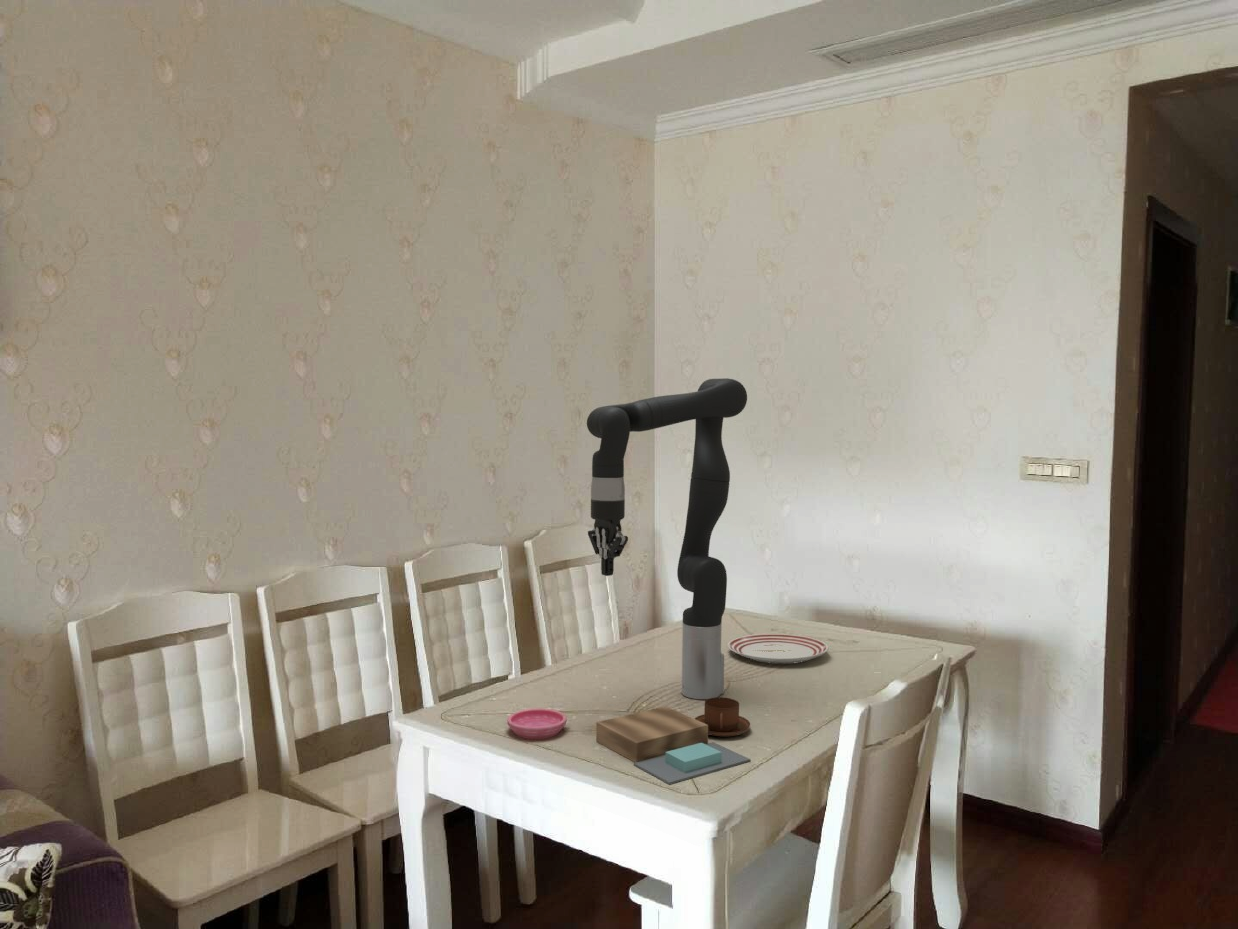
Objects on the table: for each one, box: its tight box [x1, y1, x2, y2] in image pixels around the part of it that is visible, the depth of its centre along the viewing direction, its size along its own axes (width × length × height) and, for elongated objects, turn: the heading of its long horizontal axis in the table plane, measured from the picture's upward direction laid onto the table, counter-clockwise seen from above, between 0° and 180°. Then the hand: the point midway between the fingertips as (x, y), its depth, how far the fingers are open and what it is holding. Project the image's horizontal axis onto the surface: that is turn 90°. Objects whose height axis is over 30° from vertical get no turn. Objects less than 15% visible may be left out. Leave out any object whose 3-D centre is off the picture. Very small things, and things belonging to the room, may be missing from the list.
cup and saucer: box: [694, 696, 751, 738], centre depth 199 cm, size 12×12×6 cm
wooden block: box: [595, 705, 709, 763], centre depth 191 cm, size 18×14×4 cm
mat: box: [633, 741, 751, 785], centre depth 181 cm, size 20×11×1 cm, turn 125°
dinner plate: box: [727, 633, 829, 664], centre depth 259 cm, size 28×27×3 cm
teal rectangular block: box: [665, 743, 722, 772], centre depth 180 cm, size 9×6×2 cm, turn 125°
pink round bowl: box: [506, 708, 568, 740], centre depth 198 cm, size 12×12×3 cm
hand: (607, 575), depth 208 cm, fingers closed
